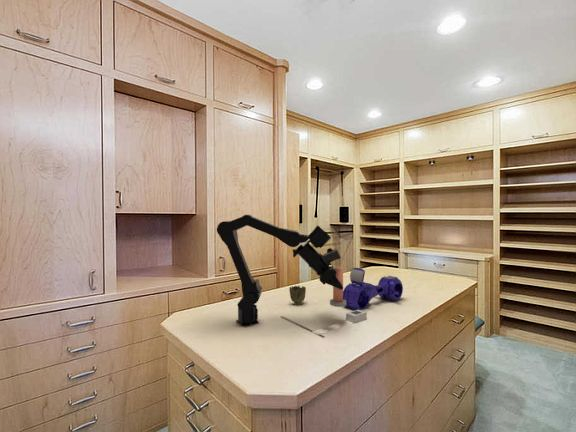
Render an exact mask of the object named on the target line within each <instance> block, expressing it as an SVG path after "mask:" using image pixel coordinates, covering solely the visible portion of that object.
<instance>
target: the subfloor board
mask: <svg viewBox="0 0 576 432" xmlns="http://www.w3.org/2000/svg"><path fill="white" fill-rule="evenodd" d="M280 318H281V319H283V320H285V321H288V322H290V323H292V324H294V325H295V326H298V327H300V328H302V329H305V330H306V331H309V332H310V333H312V334H314V335H316V336H318V337H321V338H322V339H323V338H326V336H324V334H325V333H328V332H330V331H331V332H332V331H333V330H336V329H340V328H343V327H346V326H348V325H351V324H354V323H353V322H350V321H347V320H344V321H341V322H338V323H335V324H331V325H329V326H325V327H322V328H319V329H316V330H312V329H310V328H308V327H306V326H303V325H301V324H299V323H297V322H295V321H293V320H291V319H289V318H288V317H287V318H286V317H285V316H283V315H281V316H280Z"/></svg>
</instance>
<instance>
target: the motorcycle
mask: <svg viewBox="0 0 576 432" xmlns="http://www.w3.org/2000/svg"><path fill="white" fill-rule="evenodd" d="M365 273H366V270H365V269H363V268H360V267H352V268H351V270H350V275H349V279H350V282H349V284H347V285H346V286H345V287H343V300H346V306H344V307H345V308H348V309H351V310H353V311H355V310H361V311H364V310H366V309H367V307H368V306H369V303H370V302H371V301H372V299H373V298H375V297H377V296H378V297H380V298H381V299H384V300H387V301H392V302H397V300H398V301H399V300H400V299H401V298H402V296H403V290H404V286H403V282H402V281H401V279H399V278H398V277H397V276H392V275H387V276H386V275H385V276H381V278H380V279H379V281H378V284H377V285H376V284H375V285H374V284H373V283H368V282H365V281H364V280H365Z"/></svg>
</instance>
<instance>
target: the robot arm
mask: <svg viewBox="0 0 576 432" xmlns="http://www.w3.org/2000/svg"><path fill="white" fill-rule="evenodd" d="M246 226H248V227H250V228H252V229H255V230H257V231H260V232H262V233H264V234H267V235H270V236H273V237H275V238H276V239H278V240H279V241H280V242H283V244H285V245H287V246H288V247H291V248H294V249H292V257H293V258H295V257H297V256H299V257H300V258H301V259H302V260H303V261H304V262H305V263H306V264H307V265H308V267H310V268H311V269H312V270H313V271H314V272H315V273H316V275H317V276H318V280H319V282H321V284H323V285H326V284H327V285H330V286H332V287H333V286H334V287H336V288H339V289H341V290H342V289H343V290H344V285H343V286H342V284H341V283H340V282H339V280H338V279H337V277H336V270H335V269H334V268H335V267H334V265H333V264H332V263H333V262H334V261H337V260H340V259H342V257H341V255H340V253H339V251H338V248H337V249H336V248H334V249H332V248H331V247H329V248H327V249H326V253H323V254H321V253H320V252H318V251H317V250H316V249H318V248H320V249H322V248H323V247H324V246H325V245H326V244H327V243H328V241H330V240H331V239H332V237H331V235H330V234H328V233H327V232H326V231H325V230H324V229H323V228H321V227H320V226H319V225H316V226H315V227H314V229H312V231H311V232H310V233H309V234H306V233H305V234H302V233H300V232H299V231H297V230H294V229H289V228H284V227H279V226H276V225H275V224H272V223H270V222H266V221H264V220H262V219H259V218H257V217H254V216H253V215H251V214H244V215H241V217H238V218H236V219H233V220H225V221H221V222H219V223H218V224H217V227H216V232H217V235H218V236H219V238H220V239H221V240H222V242H223V243H224V244H225V245H226V247H227V249H228V251H229V254H230V257H231V259H232V261H233V264H234V268H235V270H236V273H237V275H238V277H239V280H240V282H241V292H242V297H241V298H240V300H239V301H238V303H237V305H236V306H237V320H236V321H235V322H236V323H237V324H239V325H241V326H242V327H243V328H245V327H249V326H253V325H257V324H260V321H259V316H258V315H259V314H258V313H259V311H258V305H256V304H257V303H258V302H259V300H260V298H261V296H262V289H263V287H262V286H261V283H260V280H259V278H257V279H254V277H253V276H252V273H251V272H250V269H249V266H248V263H247V261H246V259H245V256H244V254H243V251H242V249H241V246H240V244H239V237H238V231H239V230H241V229H243V228H245V227H246ZM303 243H305V244H303ZM296 247H297V248H296ZM314 247H315V248H314ZM295 248H296V249H295Z"/></svg>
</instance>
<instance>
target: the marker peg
mask: <svg viewBox="0 0 576 432" xmlns="http://www.w3.org/2000/svg"><path fill="white" fill-rule="evenodd" d="M334 269H335V270H336V277H337V279H338V280H339V282H340V283H341V284H342V286H343V287H344V269H343V268H341V267H334ZM332 288H333V289H332V296H333V297H332V299H330V300H329V305H330V306H331V307H335V308H342V307H345V306H346V300H343V290H344V288H343V289H342V290H341V289H339V288H336V287H334V286H332Z"/></svg>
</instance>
